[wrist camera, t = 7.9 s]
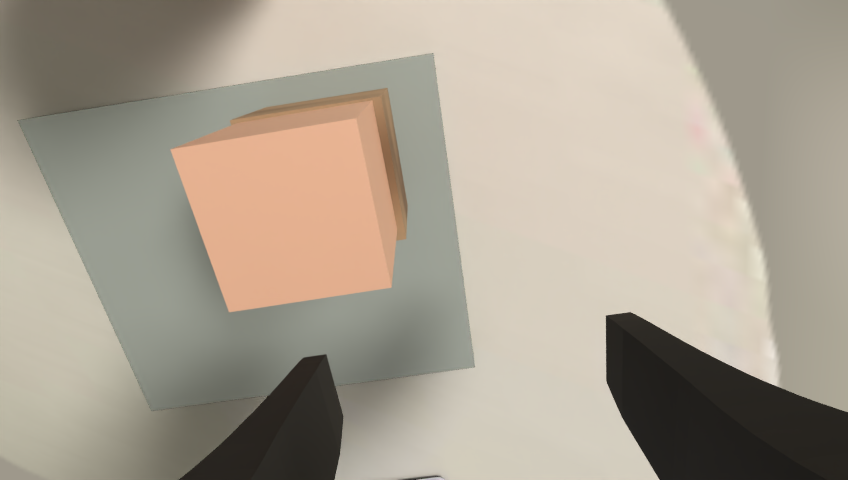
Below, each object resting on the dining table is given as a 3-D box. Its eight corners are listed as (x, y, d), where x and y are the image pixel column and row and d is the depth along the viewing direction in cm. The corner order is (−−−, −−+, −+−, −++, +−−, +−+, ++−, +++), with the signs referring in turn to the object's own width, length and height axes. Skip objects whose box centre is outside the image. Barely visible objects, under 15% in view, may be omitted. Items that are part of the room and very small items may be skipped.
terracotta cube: (397, 229, 17) (391, 287, 13) (274, 248, 17) (229, 312, 13) (372, 100, 15) (356, 117, 11) (236, 123, 15) (170, 149, 11)
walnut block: (407, 205, 21) (406, 239, 17) (296, 222, 21) (270, 259, 17) (387, 87, 19) (381, 96, 15) (265, 106, 19) (229, 120, 15)
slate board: (473, 360, 24) (474, 367, 24) (157, 403, 25) (151, 410, 25) (432, 53, 19) (433, 53, 18) (28, 118, 20) (17, 120, 19)
